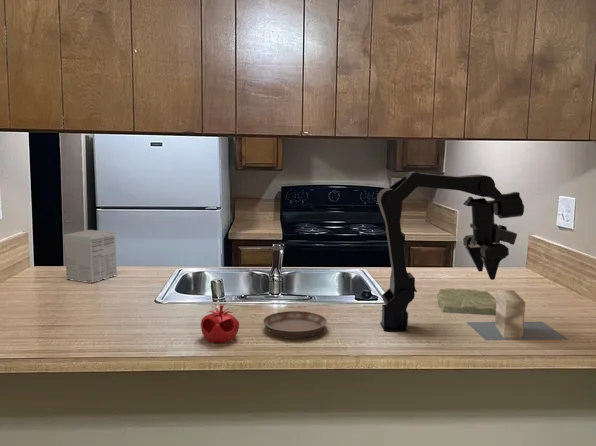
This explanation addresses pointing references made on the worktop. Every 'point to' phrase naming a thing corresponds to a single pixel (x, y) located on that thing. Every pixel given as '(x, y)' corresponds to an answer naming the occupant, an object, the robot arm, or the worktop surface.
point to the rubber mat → (529, 331)
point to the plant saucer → (294, 324)
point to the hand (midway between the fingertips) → (486, 275)
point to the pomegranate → (219, 326)
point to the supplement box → (90, 255)
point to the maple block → (510, 314)
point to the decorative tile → (466, 301)
